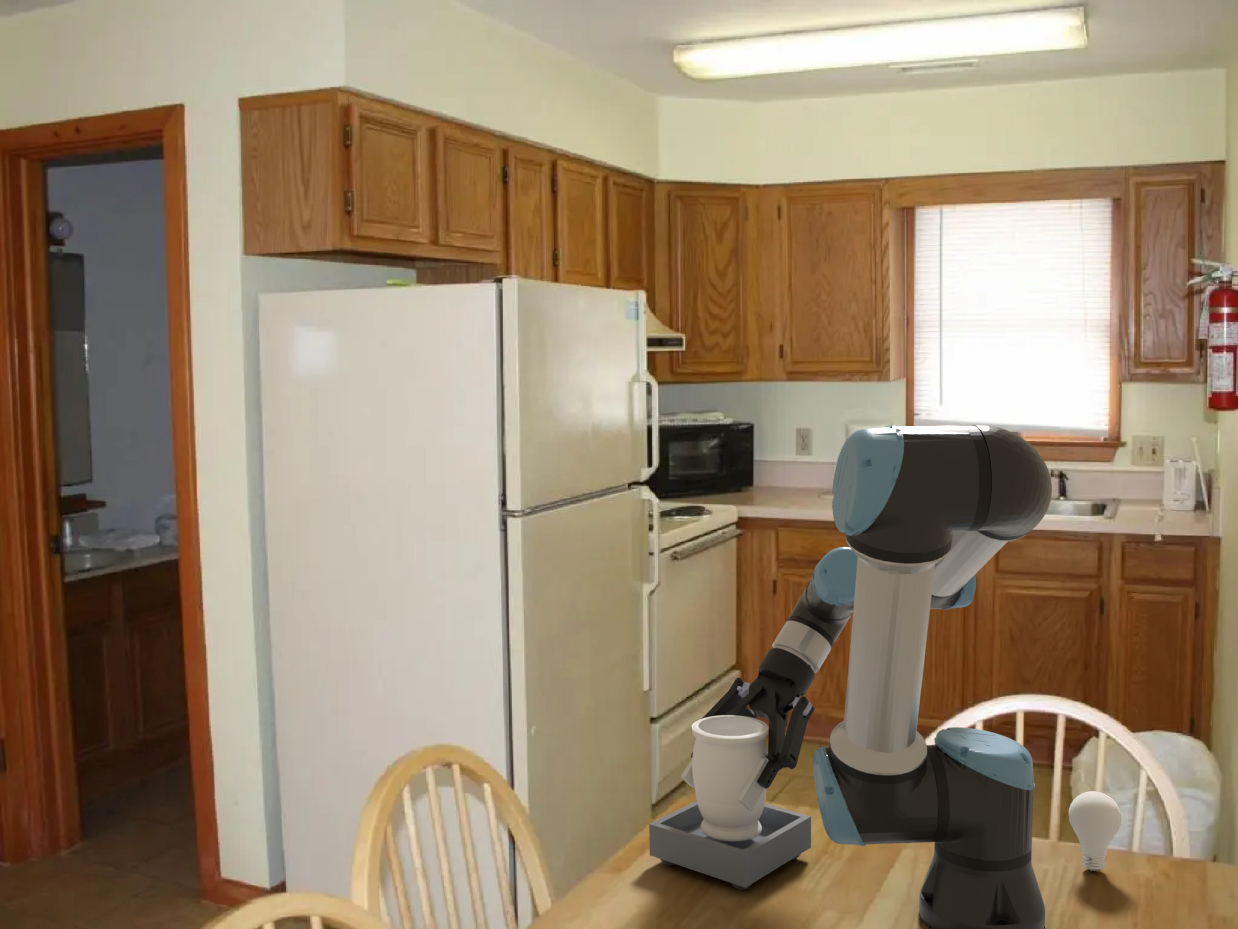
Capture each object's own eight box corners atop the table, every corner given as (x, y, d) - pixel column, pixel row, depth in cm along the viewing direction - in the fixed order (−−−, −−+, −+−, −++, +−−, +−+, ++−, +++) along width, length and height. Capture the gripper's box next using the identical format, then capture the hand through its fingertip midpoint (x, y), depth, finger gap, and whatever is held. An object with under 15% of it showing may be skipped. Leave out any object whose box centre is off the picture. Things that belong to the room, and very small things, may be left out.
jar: (680, 838, 172) (679, 731, 171) (710, 811, 181) (709, 710, 180) (752, 852, 167) (752, 742, 166) (780, 824, 176) (780, 720, 175)
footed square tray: (811, 858, 176) (811, 816, 175) (745, 898, 164) (745, 854, 163) (717, 829, 186) (717, 790, 185) (649, 865, 174) (649, 824, 173)
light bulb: (1061, 874, 169) (1063, 795, 168) (1074, 857, 175) (1076, 780, 174) (1112, 886, 166) (1115, 806, 164) (1125, 868, 171) (1127, 790, 170)
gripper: (868, 692, 173) (791, 832, 165) (749, 659, 191) (673, 784, 183) (843, 662, 169) (762, 803, 161) (723, 631, 187) (645, 757, 179)
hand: (715, 793), depth 172 cm, fingers closed on jar, 10 cm apart
